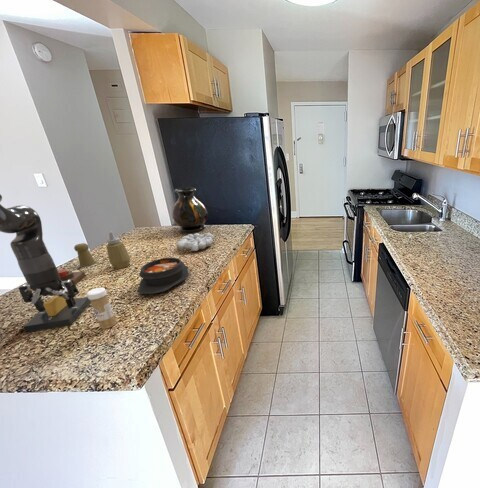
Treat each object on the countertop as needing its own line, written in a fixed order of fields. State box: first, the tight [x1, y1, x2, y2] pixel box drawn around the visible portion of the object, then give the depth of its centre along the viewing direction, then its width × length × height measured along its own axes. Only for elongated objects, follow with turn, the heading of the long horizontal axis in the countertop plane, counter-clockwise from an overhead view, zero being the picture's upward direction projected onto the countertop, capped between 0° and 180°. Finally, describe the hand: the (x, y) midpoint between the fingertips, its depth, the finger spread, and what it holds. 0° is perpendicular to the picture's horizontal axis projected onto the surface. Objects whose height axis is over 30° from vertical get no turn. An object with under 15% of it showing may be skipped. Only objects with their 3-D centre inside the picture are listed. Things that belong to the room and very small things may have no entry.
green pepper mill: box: [73, 242, 97, 268], centre depth 128 cm, size 6×6×11 cm
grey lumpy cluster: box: [175, 232, 215, 252], centre depth 151 cm, size 22×21×6 cm
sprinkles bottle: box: [86, 287, 118, 330], centre depth 85 cm, size 5×5×14 cm
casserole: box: [137, 257, 190, 295], centre depth 112 cm, size 25×19×8 cm
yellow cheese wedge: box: [43, 295, 67, 316], centre depth 90 cm, size 6×2×5 cm, turn 13°
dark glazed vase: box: [171, 187, 209, 234], centre depth 175 cm, size 22×22×28 cm
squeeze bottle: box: [106, 231, 131, 270], centre depth 124 cm, size 8×8×18 cm
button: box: [58, 269, 68, 276], centre depth 112 cm, size 4×4×2 cm
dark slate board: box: [22, 296, 91, 334], centre depth 91 cm, size 12×14×3 cm
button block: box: [59, 270, 86, 287], centre depth 113 cm, size 11×9×4 cm
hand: (58, 308), depth 91 cm, fingers open, 8 cm apart
